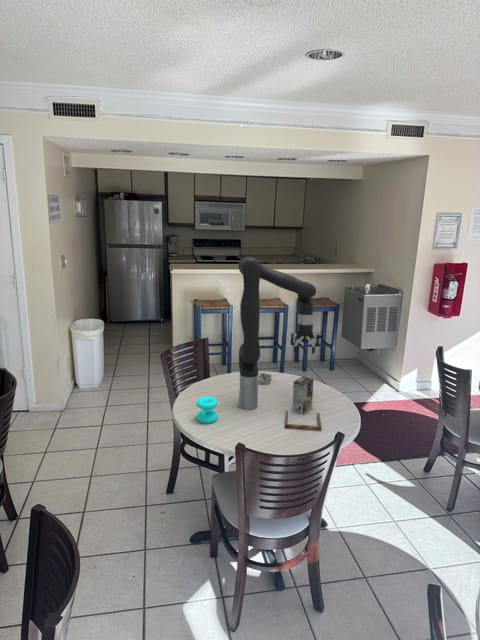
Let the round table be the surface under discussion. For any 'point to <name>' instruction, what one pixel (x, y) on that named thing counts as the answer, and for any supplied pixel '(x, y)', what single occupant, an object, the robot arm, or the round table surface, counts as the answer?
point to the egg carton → (264, 378)
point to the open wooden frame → (303, 427)
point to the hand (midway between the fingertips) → (304, 353)
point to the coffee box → (302, 395)
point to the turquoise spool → (207, 410)
